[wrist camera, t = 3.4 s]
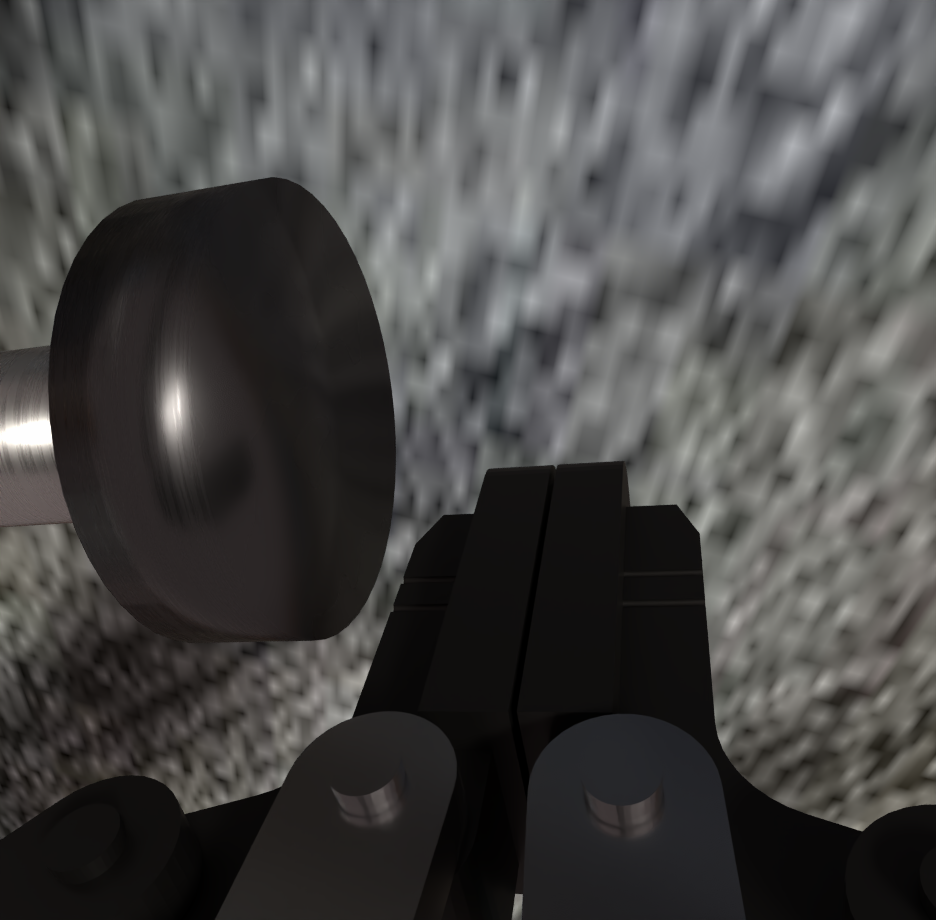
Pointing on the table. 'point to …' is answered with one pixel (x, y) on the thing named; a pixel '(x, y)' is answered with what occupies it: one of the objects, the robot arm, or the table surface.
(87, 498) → the shaft
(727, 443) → the table surface
